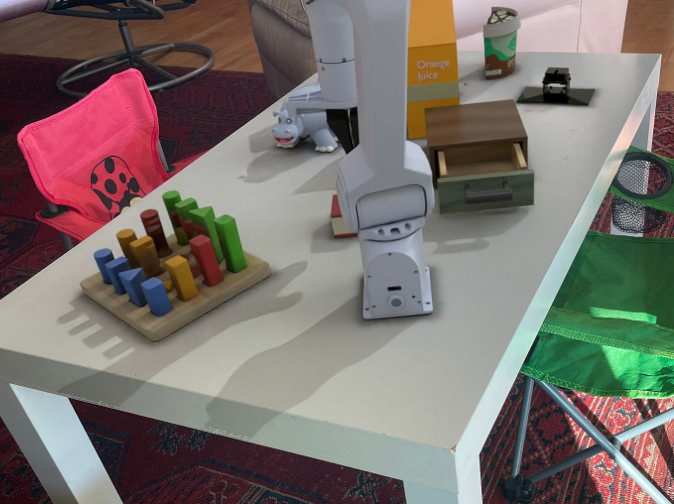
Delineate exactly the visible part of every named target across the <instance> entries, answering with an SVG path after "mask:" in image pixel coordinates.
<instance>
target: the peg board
mask: <svg viewBox="0 0 674 504" xmlns="http://www.w3.org/2000/svg"><path fill="white" fill-rule="evenodd" d="M161 198H162V201H163V204H164V207H165V209H166V213H167V215H168V218H169V221H170V224H171V227H172V229H173V232H174V233H172V234H170V235H169V236H167V237H166V233H165V230H164V226H163V224H162V220H161V217H160V214H159V210H157V209H156V208H155V209H154V208H149V209H146V210H143V211H142V212H141V213H140V214H139V217H140V220H141V223H142V226H143V228H144V231H145V235H144V236H141V237H140V238H138V236H137V233H136V232H135V230H134V229H133V228H124V229H120V230H119V231H117V232H116V234H115V236H116V239H117V242H118V244H119V247H120V250H121V251H122V254H123V255H121V256H119V257H116V258H115V256H114V254H113V251H112V249H111V248H108V247H106V248H105V247H104V248H100V249H97V250H96V251H94V252H93V258H94V261H95V264H96V265H97V267H98V270H99V271H97V273H95V274H92V275H90V276H89V277H87V278H85V279H83V280H81V281H80V282H79V286H80V288H81V291H82V293H84V295H86V296H88V297H89V298H90V299H92V300H93V301H94V302H95V303H97V304H99V305H100V306H101V307H103V308H104V309H105V310H107V311H108V312H110V313H112V314H113V315H114V316H115V317H117V318H119V319H120V320H122V322H125V323H126V324H127V325H129V326H130V327H132V328H133V329H134V330H135V331H137V332H139V333H140V334H142V335H143V336H144V337H146V338H147V339H148V340H150V341H152V342H158V341H161V340H162V339H165V338H167V337H168V336H170V335H171V334H173V333H175V332H176V331H177V330H180V329H181V328H183V327H184V326H186V325H188V324H190V323H191V322H193V321H195V320H197V319H199V318H200V317H202V316H204V315H205V314H207V313H209V312H210V311H212V310H213V309H215V308H217V307H218V306H221V305H222V304H224V303H225V302H228V301H229V300H230V299H233V298H234V297H235V296H238V295H239V294H240V293H242V292H244V291H246V290H248V289H249V288H251V287H253V286H254V285H255V284H256V285H257V284H258V283H259V282H261V281H263V280H264V279H267V278H268V277H269V276H271V268H270V264H269V262H267V261H266V260H263V259H261V258H259V257H257V256H255V255H253V254H251V253H250V252H247V251H245V250H244V248H243V245H242V240H241V237H240V233H239V229H238V225H237V221H236V218H235V217H233V216H232V215H229V214H227V213H226V214H222V215H220V216H218V217H216V214H215V211H214V207H213V206H212V205H207V206H203V207H199V205H198V201H197V200H196V198H193V197H187V198H185V199H182V197H181V195H180V192H179V191H178V190H174V189H173V190H168V191H166V192H163V194H162V195H161Z"/></svg>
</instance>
